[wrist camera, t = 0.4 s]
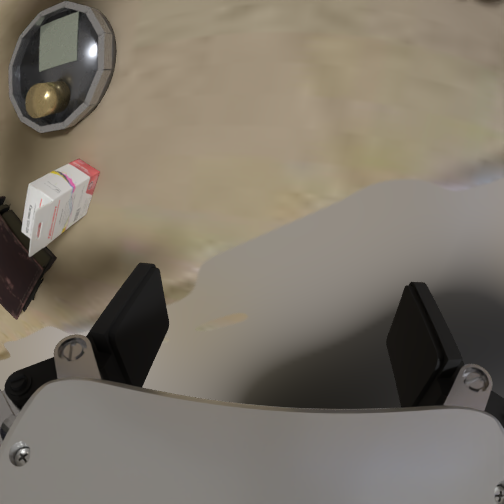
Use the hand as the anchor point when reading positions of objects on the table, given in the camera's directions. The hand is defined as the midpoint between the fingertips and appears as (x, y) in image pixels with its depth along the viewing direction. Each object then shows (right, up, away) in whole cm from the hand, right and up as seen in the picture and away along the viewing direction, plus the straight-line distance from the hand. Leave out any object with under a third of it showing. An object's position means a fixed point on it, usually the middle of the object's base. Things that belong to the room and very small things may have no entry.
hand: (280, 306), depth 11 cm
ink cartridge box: (-28, +12, +32) cm, 44 cm away
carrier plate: (-29, +30, +22) cm, 47 cm away
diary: (-53, +1, +43) cm, 68 cm away
